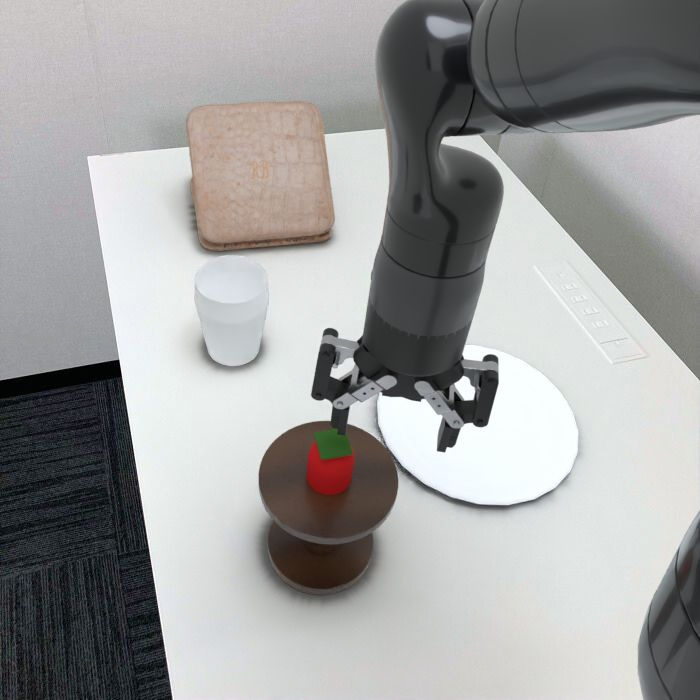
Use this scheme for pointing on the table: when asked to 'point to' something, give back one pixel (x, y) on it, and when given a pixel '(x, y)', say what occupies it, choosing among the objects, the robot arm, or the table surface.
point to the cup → (232, 307)
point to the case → (259, 174)
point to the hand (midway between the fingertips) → (392, 435)
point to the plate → (488, 438)
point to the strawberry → (330, 463)
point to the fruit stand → (324, 510)
